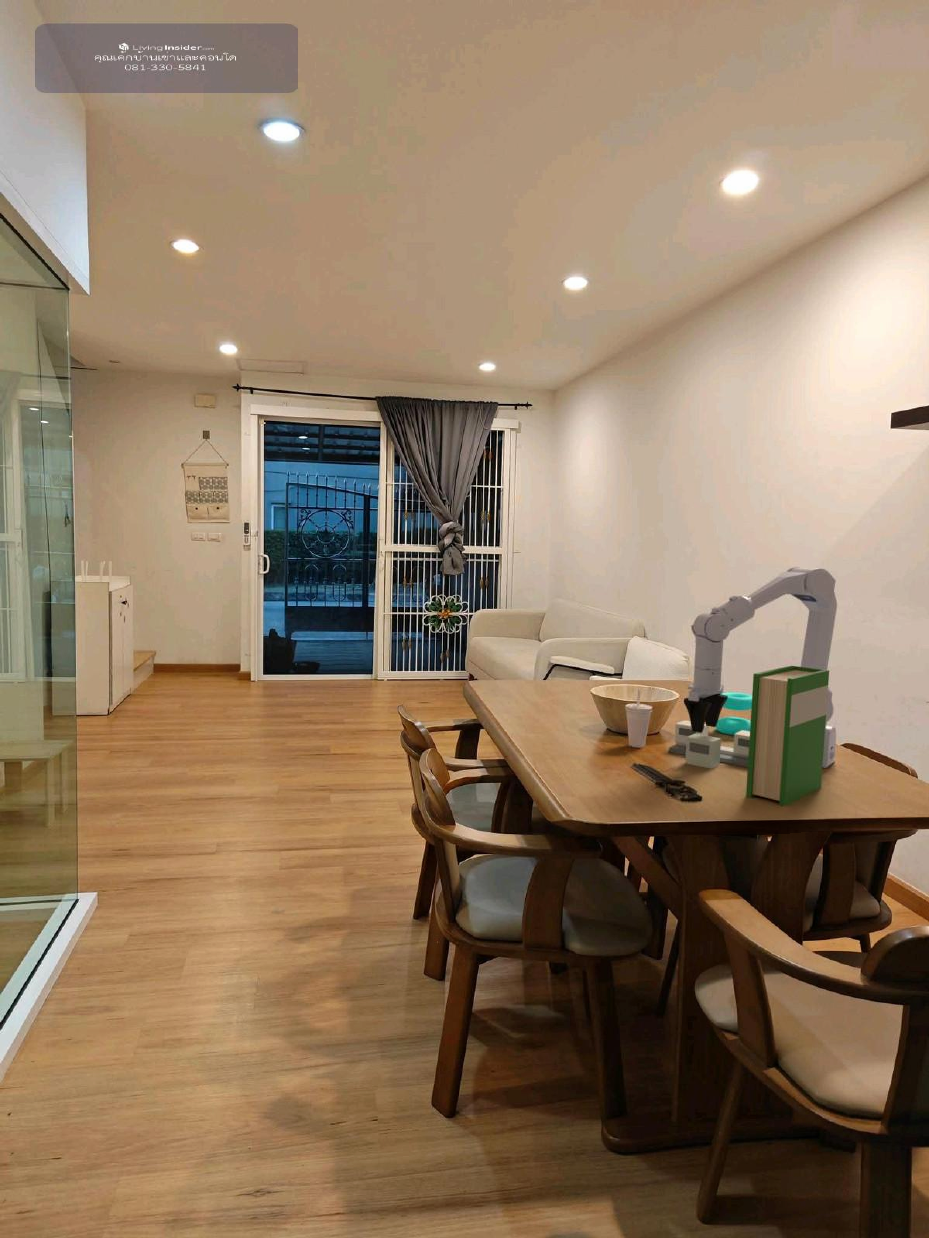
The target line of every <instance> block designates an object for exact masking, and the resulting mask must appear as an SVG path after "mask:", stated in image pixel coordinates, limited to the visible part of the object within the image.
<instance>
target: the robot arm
mask: <svg viewBox="0 0 929 1238" xmlns="http://www.w3.org/2000/svg"><path fill="white" fill-rule="evenodd" d="M835 586H836V579H835V578H834V576H833V575H832V574H831V573H830V572H829V571H828V570H827V569H825V568H820V567H818V568H817V567H816V568H804V567H796V566H795V567H793V566H792V567H790V568H788V569H787V570H786V571H785V570H784V571H782V572H781V573H779V574H778V576H776V577H775V578H773V579H772V580H770V581H769V582H767V583H766V584H765V585H763V586H761V587H760V588H758V589H757V590H755V591H754V592H752V593H751V594H749V595H747V596H743V595H731V596H730V597H729V598H728V601H727V602H725V603H722V605H720V606H718V607H715V606H714V607H712V608H711V611H710V613H709V612H708V613H707V612H704V613H701V614H699V615H698V616H696V617H695V619H694V621H693V624H691V626H690V627H691V631H692V634H693V635H694V638H695V649H694V650H695V653H694V667H693V668H694V669H693V671H694V672H693V685H692V684H690V685H688V686H687V687H688V688H687V689H688V690H690V691H688V697H685V698H684V699H683V704H684V706H685V708H686V710H687V712H688V716H689V721H690V722H691V727H692V731H694V732H699V733H702V732H703V729H704V725H705V724H706V726H709V727H711V728H716V725H717V722H718V720H719V719H720V715H721V712H722V710H723V708H724V707H723V705H724V704H725V702H726V701H727V699H728V696H727V695H721V694H722V693H724V684H722V666H723V654H724V653H723V652H724V640H726V639H727V638H728V636H729V635H730V633H731V631H732V630H734V629H736V628H737V627H739V626H741V625H743V624H744V623H746V622H748V621H749V620H751V619H753V618H754V617H755V613H756V610H758V609H760V608H762V607H763V606H766V605H768V604H769V603H771V602H774V601H776V600H778V599H779V598H781V597H783V596H785V595H791V596H792V597H794V598H796V599H797V600H799V601H801V603H802V604H803V605H804V606H805V607H806V608H807V609H808V616H807V624H806V628H805V629H806V630H805V637H804V643H803V650H802V655H801V661H800V667H807V668H814V669H822V670H828V668H829V667H828V666H829V660H830V655H831V649H832V648H831V647H832V642H833V641H832V640H833V635H834V628H835V623H836V622H835V621H836V615H837V609H838V602H837V597H836V592H835ZM832 698H833V691H832V690H831V689H830V687H829V686H828V696H827V710H826V724H825V738H824V752H823V766H822V769H823V768H825V769H826V768H828V767H829V766H831V765H832V764H833V763H835V762H836V759H835V755H836V754H835V753H836V743H837V731H836V730H837V729H836V727H835V726H832V725H828V722H829V721H830V720H831V719H832V717H833V715H834V710H835V709H834V705H833V699H832Z"/></svg>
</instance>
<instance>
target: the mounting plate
mask: <svg viewBox="0 0 929 1238" xmlns="http://www.w3.org/2000/svg"><path fill="white" fill-rule="evenodd" d="M709 727H710V726H706V723H705V725H704V729H703V732H702V733H699V732H694V731H692V727H691V722H690V720H686V719H685V720H682V721H679V722H677V723H675V731H674V734H675V735H674V742H675V744H673V745H672V746H669V747H668V752H670V753H675V754H680V755H685V756H686V744H687V737H688V736H691V735H693V734H700V735H705V736H709ZM749 740H750V731H744V730H742V731H740V732H737V733H735V734H734V735H733V747H732V746H727V745H722V744H721V749H720V763H725V764H729V765H734V766H737V767H738V766H739V767H745V768H748V756H749Z"/></svg>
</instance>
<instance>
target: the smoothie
mask: <svg viewBox="0 0 929 1238" xmlns="http://www.w3.org/2000/svg"><path fill="white" fill-rule="evenodd" d="M636 701H637V702H636V703H628V704H626V705H625V706H624V707H625V708H624V710H625V711H626V720H627V721H626V722H627V735H628V746H629V747H631V746H632V748H645V747H646V741H647V735H648V730H649V724H650V719H651V714H652V712H653V706H652V705H648V704H646V703H645V704H644V703H641V702H640V701H641V688H640V687H639V688H638V689H637V700H636Z"/></svg>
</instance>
